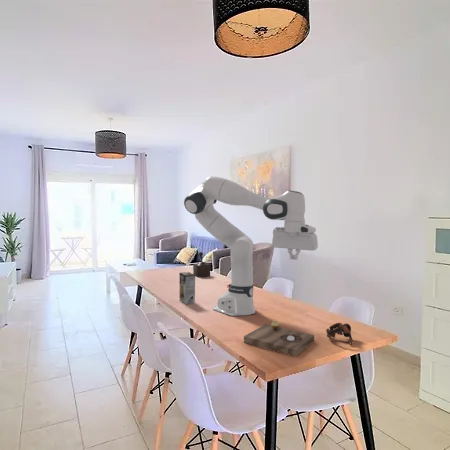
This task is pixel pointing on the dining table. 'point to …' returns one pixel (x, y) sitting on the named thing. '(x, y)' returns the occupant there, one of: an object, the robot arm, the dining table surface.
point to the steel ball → (290, 338)
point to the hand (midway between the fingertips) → (293, 259)
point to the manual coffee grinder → (201, 268)
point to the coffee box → (187, 287)
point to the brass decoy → (274, 324)
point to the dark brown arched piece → (340, 331)
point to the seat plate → (279, 339)
